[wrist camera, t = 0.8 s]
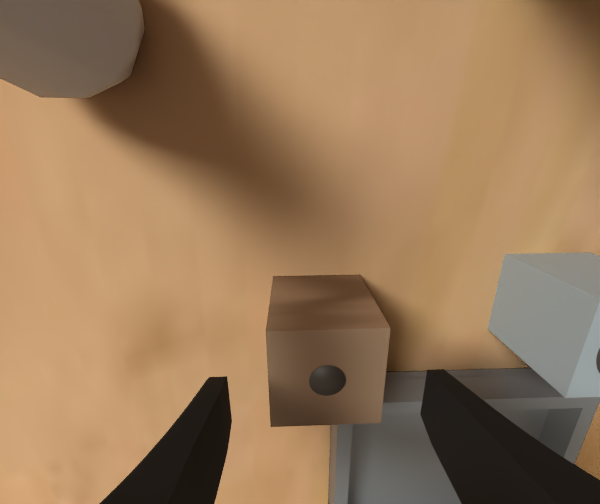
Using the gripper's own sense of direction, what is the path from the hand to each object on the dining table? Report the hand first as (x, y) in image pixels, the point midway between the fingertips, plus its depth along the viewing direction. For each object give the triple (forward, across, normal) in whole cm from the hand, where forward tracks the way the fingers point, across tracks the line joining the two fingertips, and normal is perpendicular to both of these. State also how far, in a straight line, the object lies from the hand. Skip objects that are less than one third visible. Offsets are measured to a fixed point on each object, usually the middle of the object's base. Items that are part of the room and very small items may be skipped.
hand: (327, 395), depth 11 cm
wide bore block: (+6, -12, -1) cm, 13 cm away
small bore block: (+6, 0, 0) cm, 6 cm away
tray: (+6, -8, +10) cm, 14 cm away
